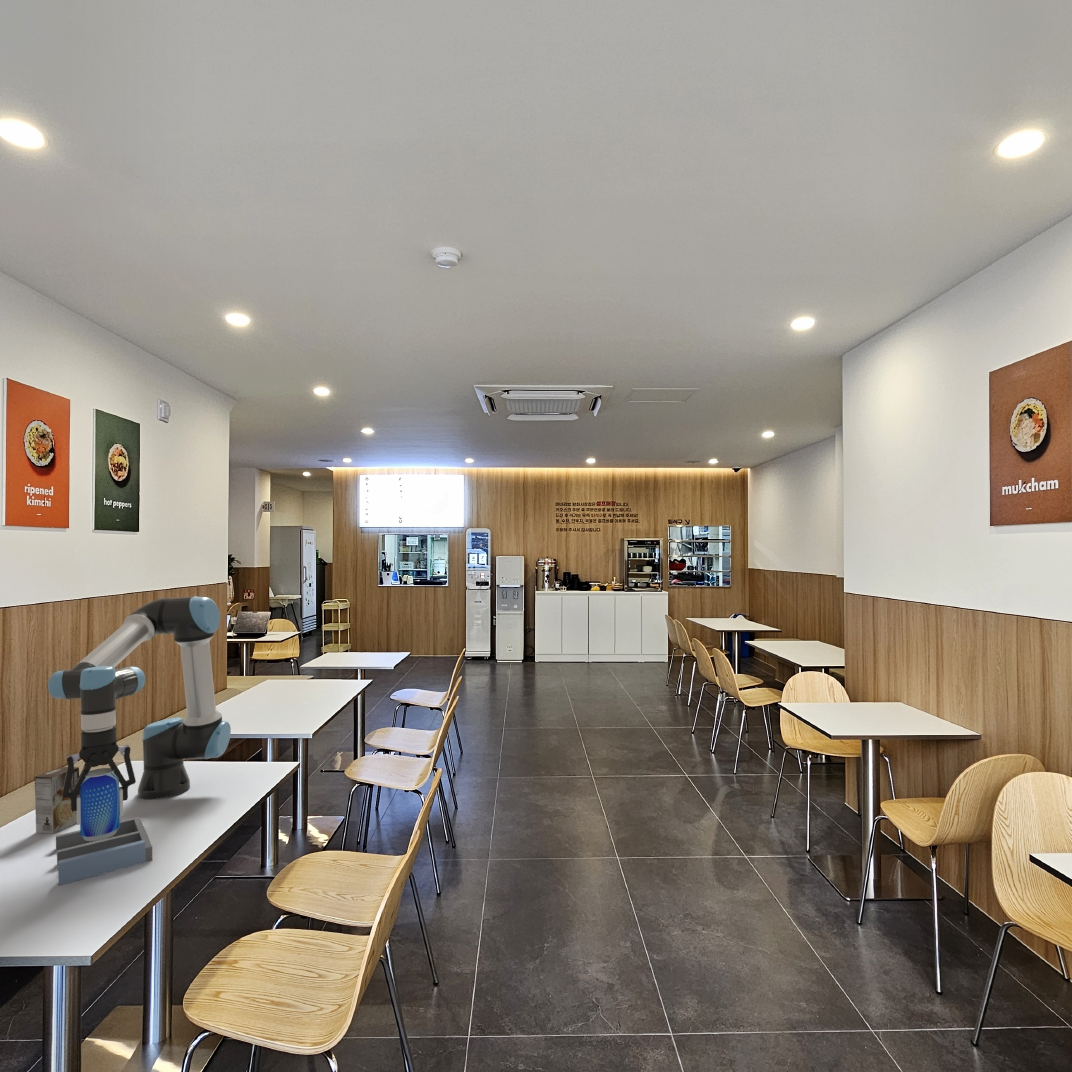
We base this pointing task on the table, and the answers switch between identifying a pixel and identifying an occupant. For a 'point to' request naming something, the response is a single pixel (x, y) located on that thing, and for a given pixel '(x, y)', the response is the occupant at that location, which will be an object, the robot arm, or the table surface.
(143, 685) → the robot arm
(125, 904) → the table surface
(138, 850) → the divided slot tray
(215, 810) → the table surface
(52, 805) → the coffee box
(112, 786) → the beer can
